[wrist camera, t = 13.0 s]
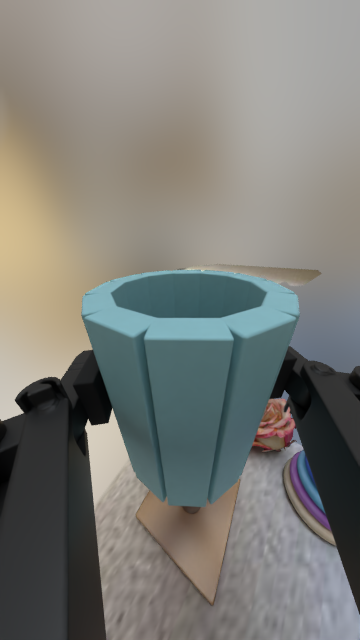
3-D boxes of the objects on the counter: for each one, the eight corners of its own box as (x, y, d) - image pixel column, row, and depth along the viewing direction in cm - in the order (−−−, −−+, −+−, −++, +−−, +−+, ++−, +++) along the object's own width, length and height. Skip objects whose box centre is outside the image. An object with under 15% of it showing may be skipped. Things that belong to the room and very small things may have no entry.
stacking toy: (290, 528, 19) (378, 446, 10) (276, 451, 25) (322, 363, 17) (377, 567, 16) (584, 503, 8) (337, 471, 23) (425, 381, 15)
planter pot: (102, 443, 10) (36, 298, 6) (172, 367, 16) (167, 266, 12) (222, 562, 6) (313, 408, 2) (255, 405, 12) (296, 277, 8)
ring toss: (136, 518, 20) (108, 456, 13) (179, 440, 27) (177, 374, 20) (212, 606, 15) (235, 588, 8) (239, 482, 22) (263, 415, 15)
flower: (308, 431, 26) (288, 387, 27) (314, 489, 19) (286, 426, 19) (250, 427, 32) (235, 390, 33) (238, 470, 25) (218, 422, 25)
